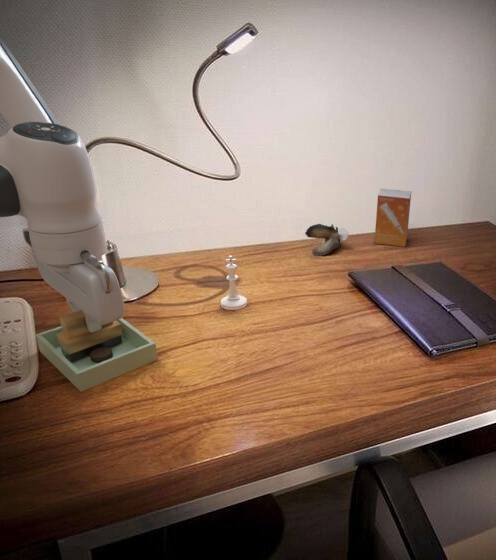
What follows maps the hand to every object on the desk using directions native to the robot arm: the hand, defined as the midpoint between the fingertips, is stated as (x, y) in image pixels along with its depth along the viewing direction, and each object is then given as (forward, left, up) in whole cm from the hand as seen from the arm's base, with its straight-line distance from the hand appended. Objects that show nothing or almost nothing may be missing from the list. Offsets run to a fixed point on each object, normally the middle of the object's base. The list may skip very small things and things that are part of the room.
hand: (88, 325), depth 81 cm
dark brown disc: (+3, 0, -4) cm, 5 cm away
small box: (0, +73, -5) cm, 73 cm away
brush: (0, 0, -4) cm, 4 cm away
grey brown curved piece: (-7, +57, -5) cm, 58 cm away
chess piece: (+1, +25, -5) cm, 25 cm away
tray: (+2, 0, -5) cm, 6 cm away
